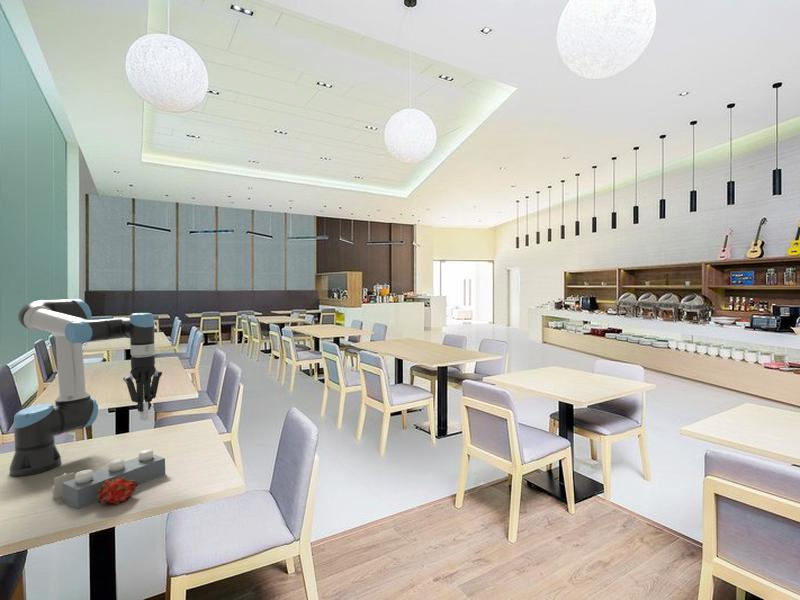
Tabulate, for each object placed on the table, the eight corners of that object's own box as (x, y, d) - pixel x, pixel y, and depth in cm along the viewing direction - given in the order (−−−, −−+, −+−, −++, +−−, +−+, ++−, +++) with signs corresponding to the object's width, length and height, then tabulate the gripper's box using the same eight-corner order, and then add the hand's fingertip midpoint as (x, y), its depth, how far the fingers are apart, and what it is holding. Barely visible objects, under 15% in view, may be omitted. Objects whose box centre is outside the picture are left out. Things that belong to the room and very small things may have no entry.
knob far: (136, 474, 156) (136, 452, 156) (149, 469, 160) (148, 448, 160) (143, 476, 154) (143, 455, 154) (156, 471, 158) (155, 450, 158)
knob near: (73, 498, 139) (72, 473, 139) (89, 492, 143) (88, 468, 143) (80, 501, 137) (79, 476, 137) (96, 495, 141) (95, 471, 140)
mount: (63, 501, 139) (62, 482, 139) (149, 468, 163) (149, 453, 163) (78, 508, 134) (77, 489, 134) (165, 474, 158) (164, 458, 158)
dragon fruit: (92, 514, 134) (135, 504, 143) (101, 504, 130) (144, 495, 139) (90, 486, 138) (132, 479, 147) (99, 476, 134) (141, 469, 143)
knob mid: (106, 485, 148) (106, 462, 147) (121, 480, 152) (120, 457, 151) (113, 488, 145) (113, 465, 145) (128, 482, 149) (127, 460, 149)
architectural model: (51, 497, 142) (50, 475, 142) (76, 489, 148) (75, 468, 148) (54, 500, 140) (53, 478, 140) (79, 492, 146) (78, 470, 146)
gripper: (129, 359, 148) (131, 426, 149) (166, 353, 159) (167, 416, 160) (118, 357, 152) (119, 422, 153) (154, 352, 163) (156, 413, 164)
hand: (144, 419), depth 157 cm, fingers closed
